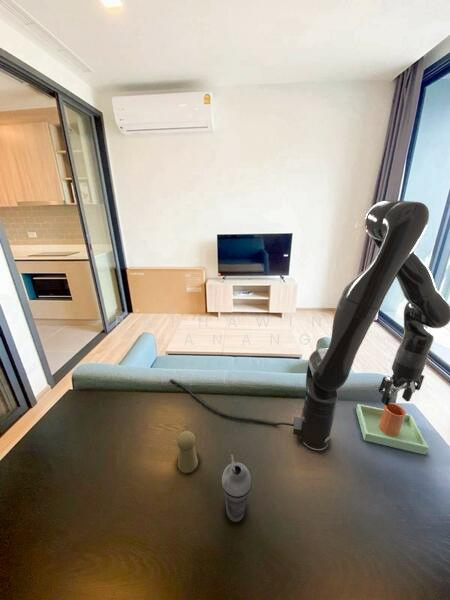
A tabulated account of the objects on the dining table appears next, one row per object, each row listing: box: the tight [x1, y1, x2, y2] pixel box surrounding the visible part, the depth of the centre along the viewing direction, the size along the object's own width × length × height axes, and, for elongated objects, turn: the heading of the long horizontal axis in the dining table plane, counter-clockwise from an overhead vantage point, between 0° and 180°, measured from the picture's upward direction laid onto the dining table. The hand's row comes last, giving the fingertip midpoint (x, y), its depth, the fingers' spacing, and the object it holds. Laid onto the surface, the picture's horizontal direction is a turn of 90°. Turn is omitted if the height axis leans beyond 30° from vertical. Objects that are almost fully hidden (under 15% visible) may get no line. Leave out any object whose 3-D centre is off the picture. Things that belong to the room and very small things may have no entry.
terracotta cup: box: [379, 402, 407, 437], centre depth 83 cm, size 6×6×9 cm
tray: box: [355, 403, 429, 455], centre depth 85 cm, size 18×14×3 cm
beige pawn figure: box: [176, 430, 199, 474], centre depth 72 cm, size 6×6×11 cm
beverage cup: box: [220, 453, 252, 523], centre depth 59 cm, size 7×7×20 cm
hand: (395, 401), depth 81 cm, fingers open, 8 cm apart
